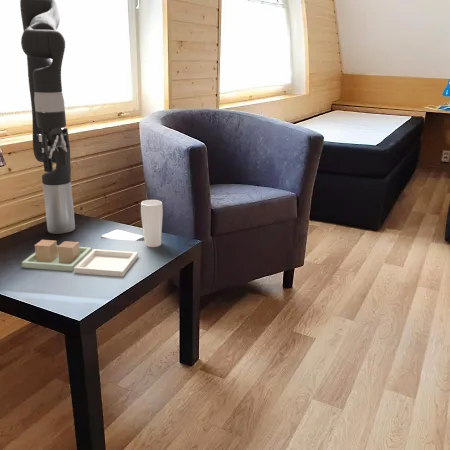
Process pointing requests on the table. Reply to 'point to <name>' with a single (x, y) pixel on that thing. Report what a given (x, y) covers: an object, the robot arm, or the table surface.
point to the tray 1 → (55, 261)
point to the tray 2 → (106, 262)
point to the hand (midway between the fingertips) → (56, 168)
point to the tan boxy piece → (46, 250)
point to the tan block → (68, 252)
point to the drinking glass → (152, 222)
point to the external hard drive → (122, 235)
